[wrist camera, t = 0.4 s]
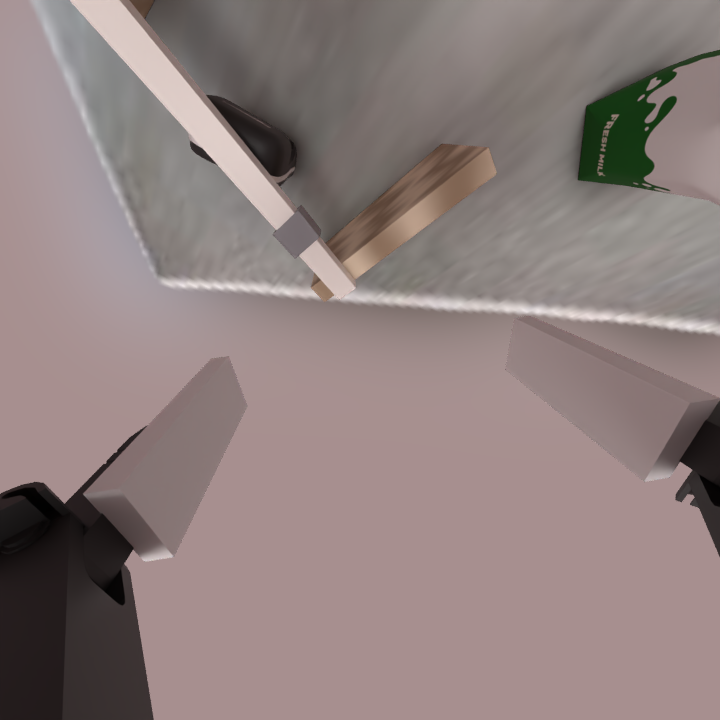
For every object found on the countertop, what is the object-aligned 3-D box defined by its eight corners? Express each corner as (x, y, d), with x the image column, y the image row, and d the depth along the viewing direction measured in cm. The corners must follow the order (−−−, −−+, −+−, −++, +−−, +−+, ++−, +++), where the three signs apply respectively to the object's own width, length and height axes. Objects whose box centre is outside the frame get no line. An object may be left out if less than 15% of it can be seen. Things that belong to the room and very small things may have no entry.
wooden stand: (255, -312, 15) (108, -1051, 6) (449, 162, 29) (497, 173, 20) (113, -2, 21) (-63, -106, 12) (329, 259, 36) (324, 302, 27)
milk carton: (653, 155, 30) (966, 175, 15) (567, 192, 32) (766, 242, 17) (681, 47, 25) (1219, -94, 9) (575, 99, 27) (879, 52, 11)
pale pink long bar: (-43, -231, 10) (-109, -294, 9) (358, 277, 25) (359, 286, 24) (-58, -149, 11) (-119, -192, 10) (336, 293, 26) (335, 303, 25)
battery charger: (304, 138, 28) (286, 139, 19) (294, 178, 30) (273, 194, 21) (235, 98, 25) (179, 78, 17) (230, 143, 28) (178, 147, 19)
